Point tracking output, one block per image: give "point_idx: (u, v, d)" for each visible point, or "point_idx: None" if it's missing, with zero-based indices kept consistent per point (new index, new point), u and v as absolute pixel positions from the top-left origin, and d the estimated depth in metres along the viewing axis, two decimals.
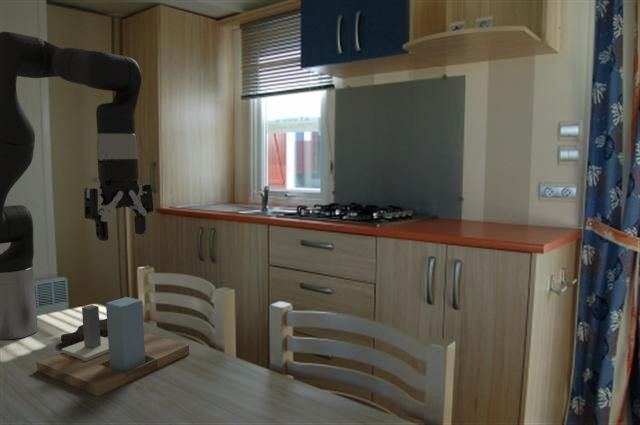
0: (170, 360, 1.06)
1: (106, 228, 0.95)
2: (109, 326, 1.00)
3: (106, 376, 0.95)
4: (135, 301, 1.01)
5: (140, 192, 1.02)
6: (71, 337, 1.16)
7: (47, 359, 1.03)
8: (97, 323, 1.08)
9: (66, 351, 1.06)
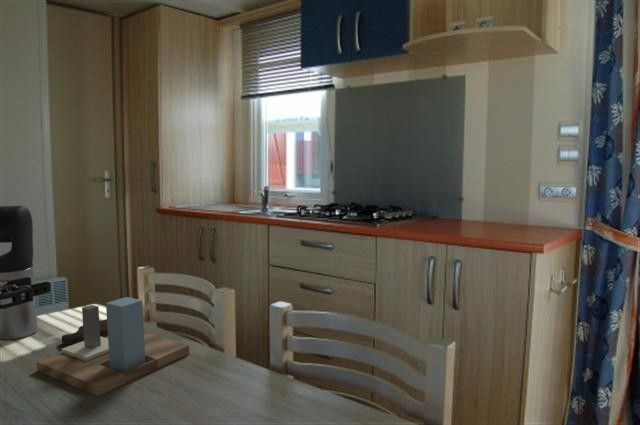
0: (170, 360, 1.06)
1: None
2: (109, 326, 1.00)
3: (106, 376, 0.95)
4: (135, 301, 1.01)
5: None
6: (72, 338, 1.16)
7: (47, 359, 1.03)
8: (97, 323, 1.08)
9: (66, 351, 1.06)
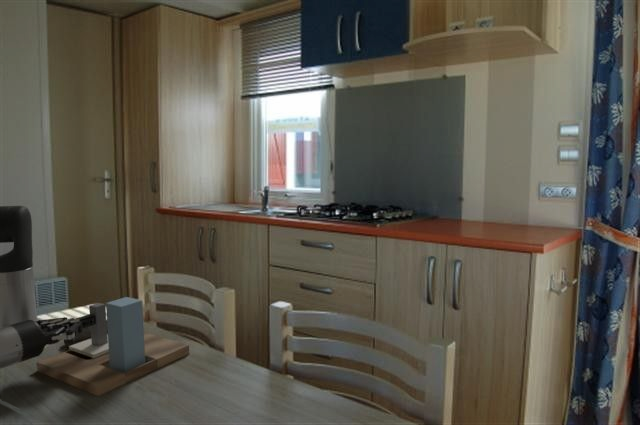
0: (170, 360, 1.06)
1: None
2: (109, 326, 1.00)
3: (106, 376, 0.95)
4: (135, 301, 1.01)
5: None
6: (75, 340, 1.15)
7: (47, 359, 1.03)
8: (104, 321, 1.09)
9: (74, 348, 1.07)
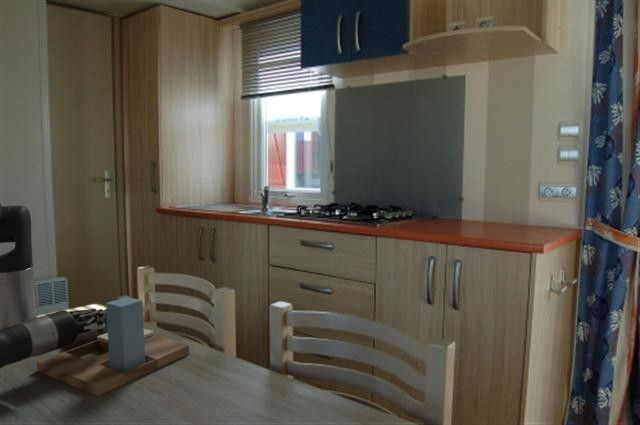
0: (170, 360, 1.06)
1: None
2: (109, 326, 1.00)
3: (106, 376, 0.95)
4: (135, 301, 1.01)
5: None
6: (76, 340, 1.15)
7: (47, 359, 1.03)
8: None
9: (101, 338, 1.13)
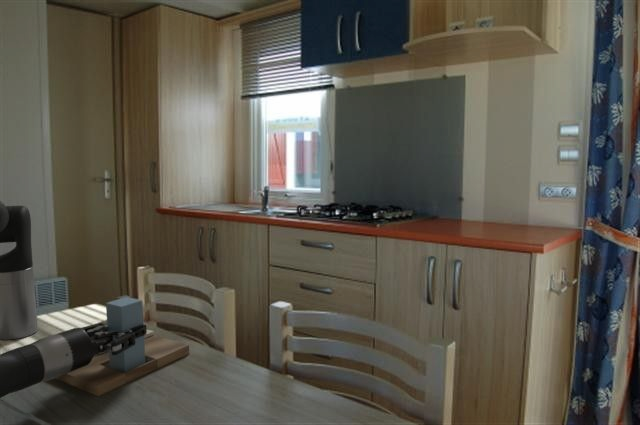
0: (170, 360, 1.06)
1: None
2: (109, 326, 1.00)
3: (106, 376, 0.95)
4: (135, 301, 1.01)
5: None
6: None
7: None
8: None
9: None
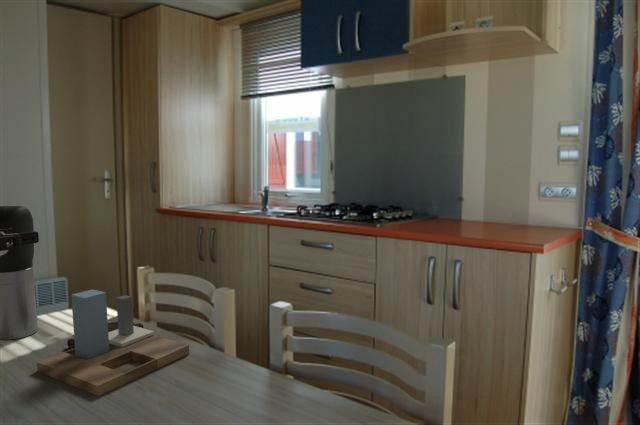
0: (170, 360, 1.06)
1: None
2: (74, 316, 1.06)
3: (106, 376, 0.95)
4: (99, 293, 1.07)
5: None
6: None
7: (47, 359, 1.03)
8: (130, 312, 1.15)
9: None
